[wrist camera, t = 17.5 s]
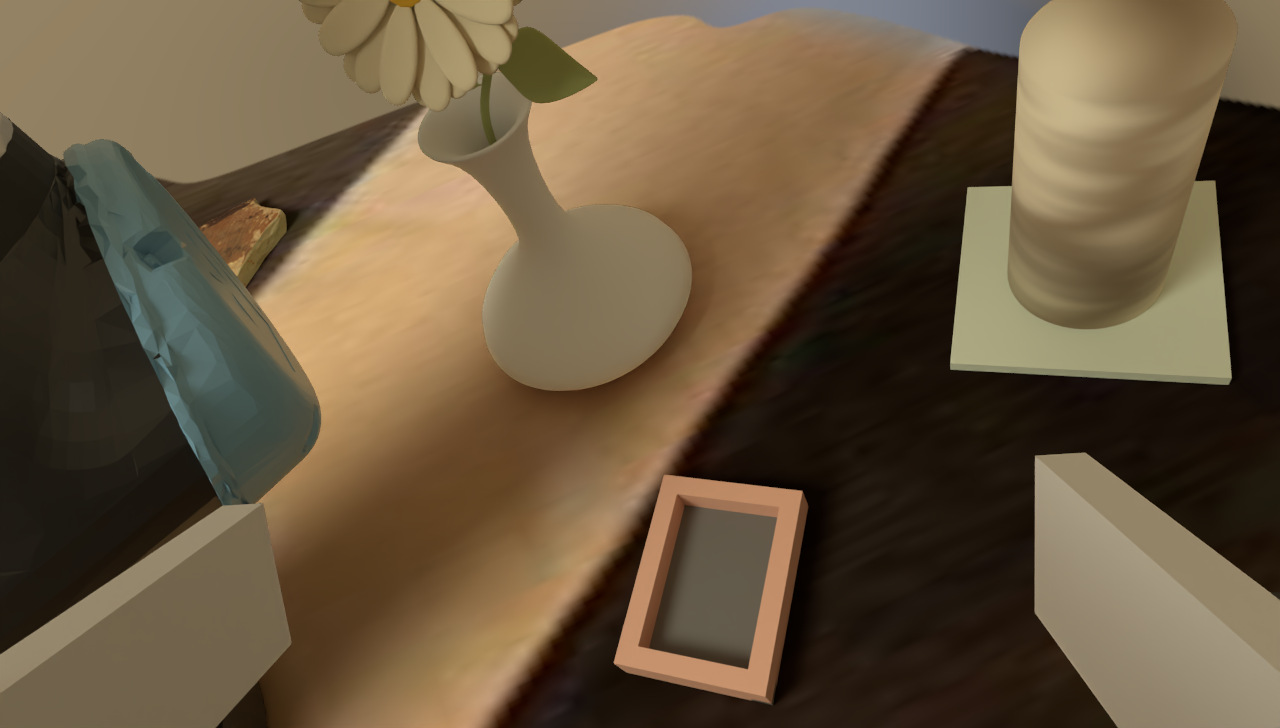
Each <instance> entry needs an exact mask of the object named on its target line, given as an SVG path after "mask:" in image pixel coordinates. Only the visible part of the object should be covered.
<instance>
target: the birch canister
mask: <svg viewBox="0 0 1280 728" xmlns="http://www.w3.org/2000/svg"><path fill="white" fill-rule="evenodd" d="M1236 38H1237V22H1236V18H1235V16H1234V14H1233V12H1232V10H1231V9H1230V7H1229V6H1228V5H1227V4H1226V2H1225V1H1223V0H1052V1H1050V2H1049V3H1047V4H1046V5H1045V6H1044V7H1042V8H1041V9H1040V10H1039V11H1038V12H1037V13H1036V14H1035V15H1034V16H1033V17H1032V18H1031V19H1030V21H1029V22H1028V24H1027V26H1026V27H1025V29H1024V31H1023V34H1022V36H1021V40H1020V48H1019V66H1018V85H1017V103H1016V122H1015V140H1014V159H1013V177H1012V196H1011V214H1010V233H1009V251H1008V270H1007V274H1008V282H1009V286H1010V289H1011V291H1012V293H1013V295H1014V296H1015V298H1016V299H1017V301H1018V302H1019V303H1020V304H1021V305H1022V306H1023V307H1024V308H1025V309H1026V310H1027V311H1029V312H1030V313H1032V314H1033V315H1035V316H1036V317H1038V318H1040V319H1042V320H1044V321H1047V322H1049V323H1052V324H1055V325H1058V326H1062V327H1067V328H1073V329H1100V328H1107V327H1112V326H1116V325H1119V324H1122V323H1125V322H1127V321H1130V320H1132V319H1134V318H1136V317H1137V316H1139V315H1141V314H1142V313H1143V312H1145V311H1146V310H1147V309H1148V308H1150V307H1151V305H1152V304H1153V303H1154V302H1155V301H1156V300H1157V298H1158V297H1159V295H1160V293H1161V291H1162V289H1163V286H1164V283H1165V279H1166V276H1167V273H1168V269H1169V266H1170V262H1171V259H1172V256H1173V252H1174V249H1175V246H1176V242H1177V239H1178V235H1179V232H1180V229H1181V225H1182V222H1183V219H1184V215H1185V212H1186V208H1187V205H1188V202H1189V198H1190V195H1191V192H1192V188H1193V185H1194V181H1195V178H1196V175H1197V171H1198V168H1199V165H1200V161H1201V158H1202V154H1203V151H1204V148H1205V144H1206V141H1207V137H1208V134H1209V131H1210V127H1211V124H1212V121H1213V117H1214V114H1215V110H1216V107H1217V104H1218V100H1219V97H1220V94H1221V90H1222V87H1223V83H1224V80H1225V77H1226V73H1227V70H1228V66H1229V63H1230V59H1231V56H1232V53H1233V50H1234V46H1235V42H1236Z"/></svg>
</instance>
